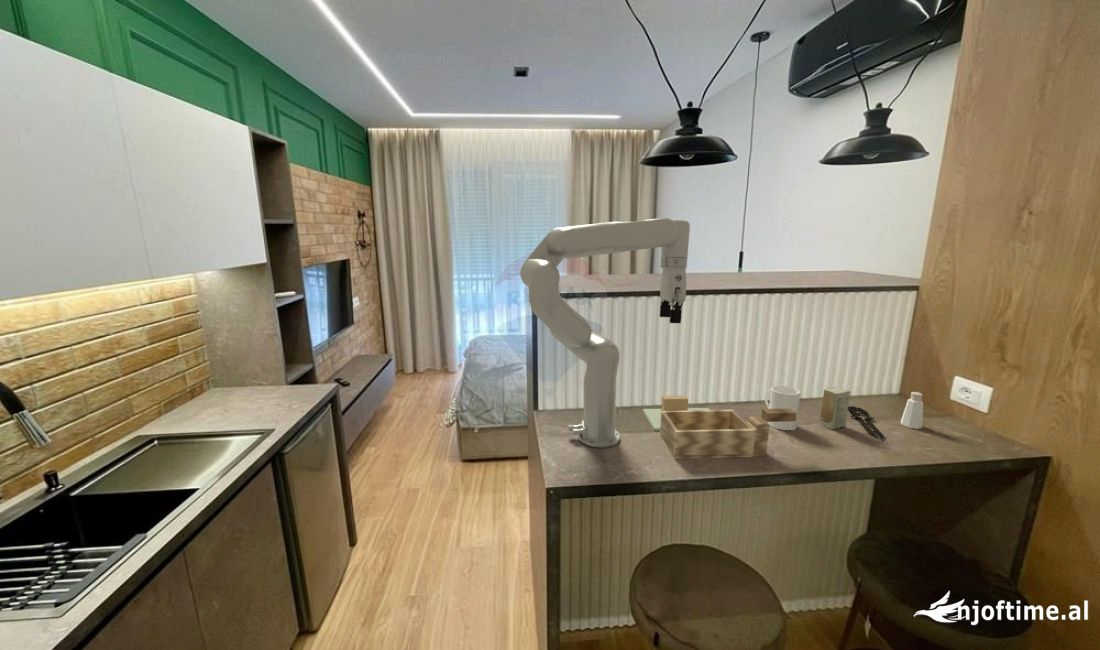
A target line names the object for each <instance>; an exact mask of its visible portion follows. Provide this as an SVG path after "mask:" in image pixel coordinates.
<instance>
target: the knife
mask: <svg viewBox="0 0 1100 650" xmlns="http://www.w3.org/2000/svg"><path fill="white" fill-rule="evenodd" d="M854 409H855V410H854ZM856 409H859V410H856ZM860 410H861V411H860ZM848 411H849V412H850V413H851V414H852V415H851V414H850V413H849V412H848V413H849V414H850V418H854V417H855V419H857V420H856V421H858V423H860V425H861V426H862V427H863V428H864V430H865V431H866V432H867V434H869V435H870V434H871V436H872V435H873V437H875V438H876V439H880V440H881V441H884V440H885V439H886V436H885V435H884V434H883V433H882V431H880V429H878V428H876V427H877V426H876V425H875V424H874V423H873V422H872V421H871V420H875V417H870V413H869V412H868V411H867V410H865V409H863V408H861V407H860V406H859V407H857V406H853V405H851V406H850V405H848ZM860 414H861V415H864V416H866V417H862V416H860ZM863 418H864V419H865V420H864V419H863ZM855 419H854V420H855ZM865 421H866V422H867V423H866V422H865ZM868 424H869V425H868ZM875 426H876V427H875ZM871 428H872V429H873V430H874V431H873V430H872V429H871ZM878 436H879V437H878Z"/></svg>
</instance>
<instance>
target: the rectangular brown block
mask: <svg viewBox="0 0 1100 650" xmlns="http://www.w3.org/2000/svg"><path fill="white" fill-rule="evenodd" d="M796 414H797V413H796V412H795V411H793V410H792V409H790V408H789V409H768V408H761V418H763V419H764V420H765V421H766V422H786V421H796Z"/></svg>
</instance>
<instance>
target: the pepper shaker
mask: <svg viewBox="0 0 1100 650" xmlns="http://www.w3.org/2000/svg"><path fill="white" fill-rule="evenodd" d="M910 394H911V395H910V398H907V401H906V404H905V407H904V409H903V414H902V417H901V419H900V424H901V425H902V426H903V425H904V426H903V427H906V426H907V427H906V428H908V427H909V428H908V429H913V428H914V429H915V430H919V429H920V430H921V429H923V420H924V419H923V416H924V402H923V400H922V399H923V396H924V394H923V393H921V392H919V391H912V392H910Z"/></svg>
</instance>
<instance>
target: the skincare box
mask: <svg viewBox="0 0 1100 650" xmlns="http://www.w3.org/2000/svg"><path fill="white" fill-rule="evenodd" d="M850 394H851V391H850V390H848V389H845V388H843V387H838V386H834V387H830V388H824V389H823V396H822V404H821V412H820V420H819V425H820V424H821V426H823V427H825V428H827V427H828V428H827V429H829V428H830V430H831V429H833V430H836V428H837V429H841V428H840V427H842V428H845V427H847V417H848V413H849V412H848V406H849V403H850Z"/></svg>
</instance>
